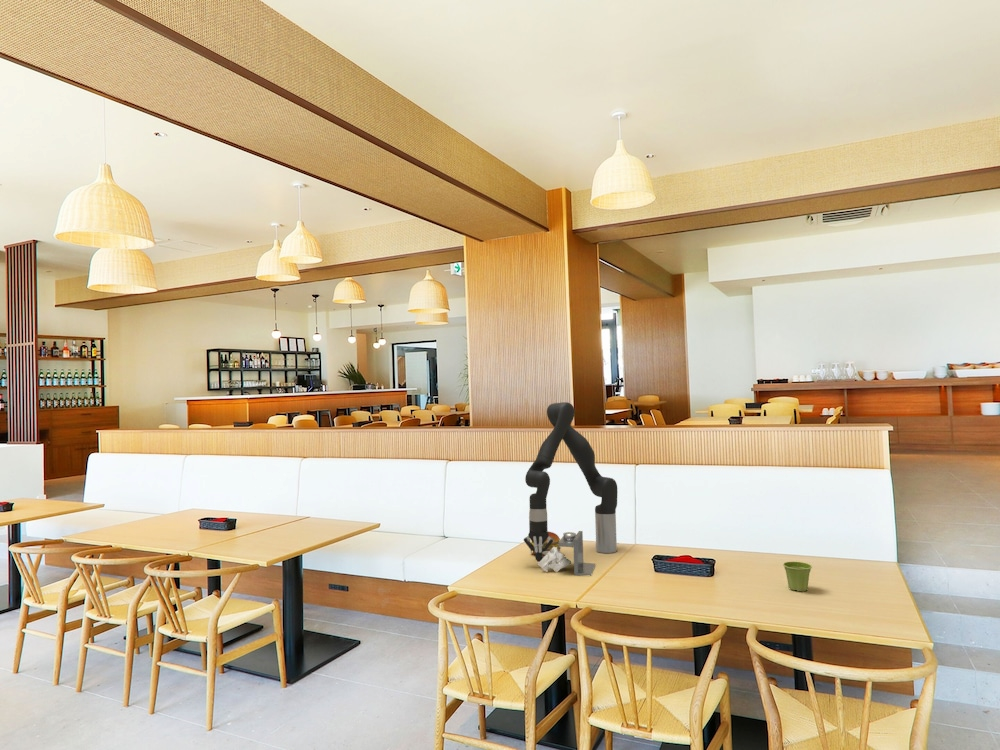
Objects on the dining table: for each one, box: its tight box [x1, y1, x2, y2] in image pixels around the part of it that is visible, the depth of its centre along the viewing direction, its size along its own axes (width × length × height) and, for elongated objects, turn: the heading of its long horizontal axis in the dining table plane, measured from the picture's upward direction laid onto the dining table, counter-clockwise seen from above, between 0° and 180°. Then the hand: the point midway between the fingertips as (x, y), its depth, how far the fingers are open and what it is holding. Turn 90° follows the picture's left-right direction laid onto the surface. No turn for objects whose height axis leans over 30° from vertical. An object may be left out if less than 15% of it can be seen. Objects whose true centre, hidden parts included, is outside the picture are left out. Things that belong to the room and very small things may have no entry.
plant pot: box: [782, 561, 813, 592], centre depth 230 cm, size 9×9×9 cm
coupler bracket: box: [559, 530, 596, 577], centre depth 262 cm, size 16×12×14 cm
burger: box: [530, 531, 561, 557], centre depth 288 cm, size 13×14×10 cm
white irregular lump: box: [537, 547, 572, 573], centre depth 263 cm, size 12×9×10 cm
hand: (539, 561), depth 267 cm, fingers closed
